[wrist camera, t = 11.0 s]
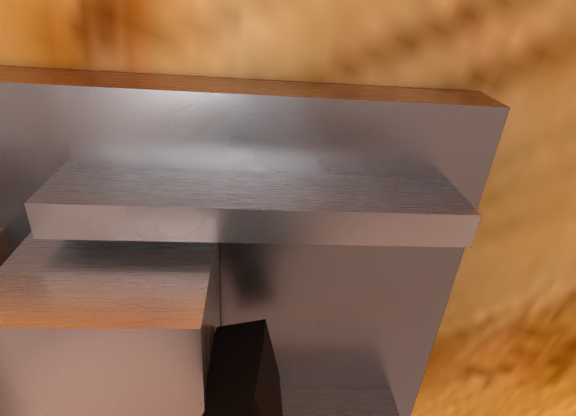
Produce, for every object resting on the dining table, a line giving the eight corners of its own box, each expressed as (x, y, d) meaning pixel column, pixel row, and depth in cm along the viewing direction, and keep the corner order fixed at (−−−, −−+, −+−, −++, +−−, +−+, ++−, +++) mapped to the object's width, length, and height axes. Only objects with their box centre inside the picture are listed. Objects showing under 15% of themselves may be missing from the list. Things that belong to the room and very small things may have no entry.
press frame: (479, 91, 11) (657, 184, 6) (392, 398, 17) (447, 571, 12) (-357, 47, 9) (-1038, 126, 4) (-129, 404, 15) (-313, 609, 10)
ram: (218, 221, 10) (200, 329, 7) (220, 388, 13) (209, 515, 10) (-2, 216, 10) (-123, 328, 7) (51, 390, 13) (-15, 524, 9)
